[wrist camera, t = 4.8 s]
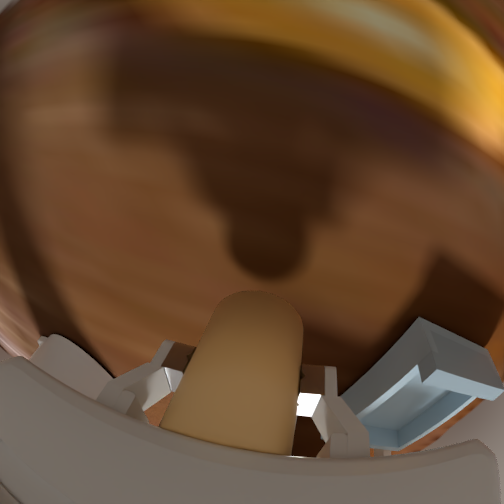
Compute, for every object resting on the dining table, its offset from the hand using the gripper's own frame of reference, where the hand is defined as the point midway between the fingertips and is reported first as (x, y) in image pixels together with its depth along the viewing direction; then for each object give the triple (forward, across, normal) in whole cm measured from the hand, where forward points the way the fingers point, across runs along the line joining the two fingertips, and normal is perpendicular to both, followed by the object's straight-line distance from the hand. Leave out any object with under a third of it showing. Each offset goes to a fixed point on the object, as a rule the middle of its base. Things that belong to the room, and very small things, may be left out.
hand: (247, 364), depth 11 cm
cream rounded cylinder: (+2, 0, 0) cm, 2 cm away
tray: (+5, -12, +7) cm, 15 cm away
